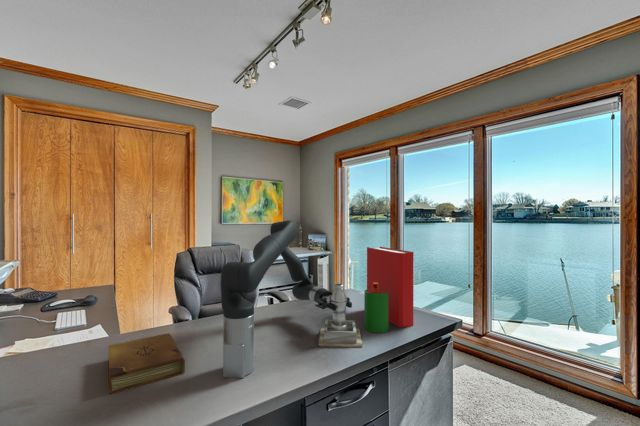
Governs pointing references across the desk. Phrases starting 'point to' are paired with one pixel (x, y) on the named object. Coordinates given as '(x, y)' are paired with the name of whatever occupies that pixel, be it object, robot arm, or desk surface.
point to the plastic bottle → (339, 309)
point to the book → (393, 281)
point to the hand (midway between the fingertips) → (343, 306)
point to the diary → (143, 362)
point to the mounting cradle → (340, 336)
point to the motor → (376, 310)
